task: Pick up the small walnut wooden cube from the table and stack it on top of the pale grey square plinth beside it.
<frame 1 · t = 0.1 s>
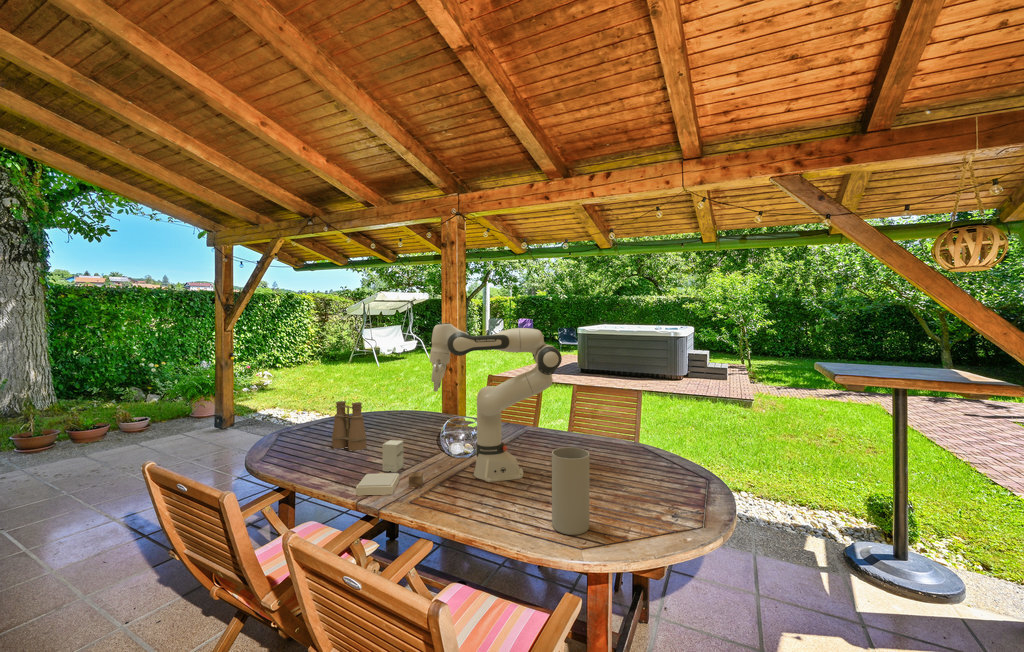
hand: (436, 389, 188), 39 cm above the table, tool pointing down, fingers open, 8 cm apart
walnut block: (415, 486, 177), on the table
plinth: (378, 488, 174), on the table
cylinder vase: (570, 527, 142), on the table
binoculars: (349, 448, 230), on the table
supplement box: (393, 469, 198), on the table
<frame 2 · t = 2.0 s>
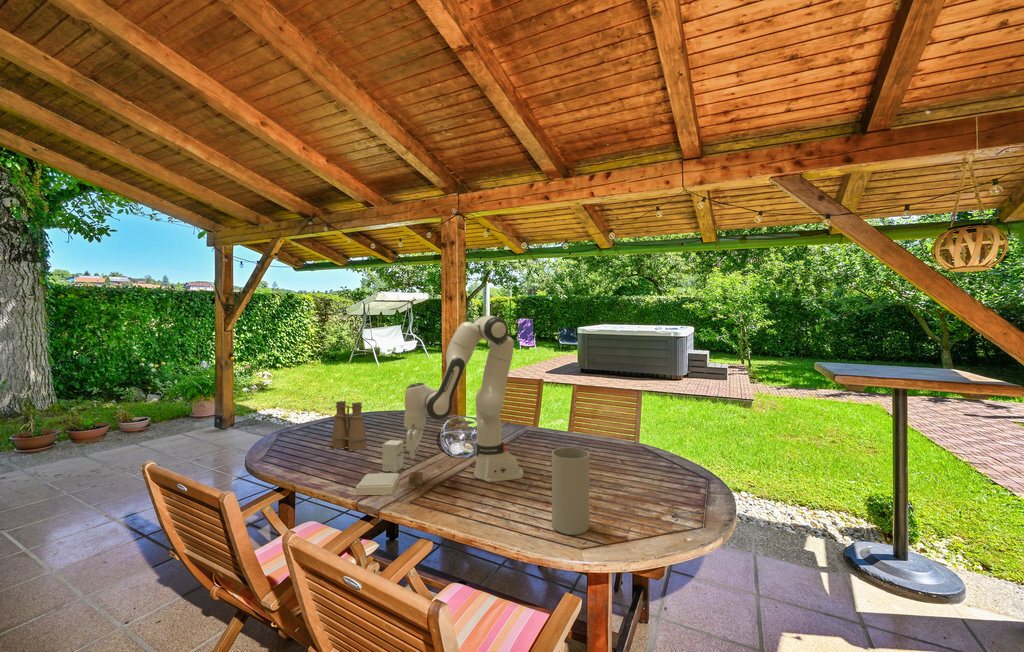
hand: (414, 454, 177), 13 cm above the table, tool pointing down, fingers open, 8 cm apart
nothing on the table moved.
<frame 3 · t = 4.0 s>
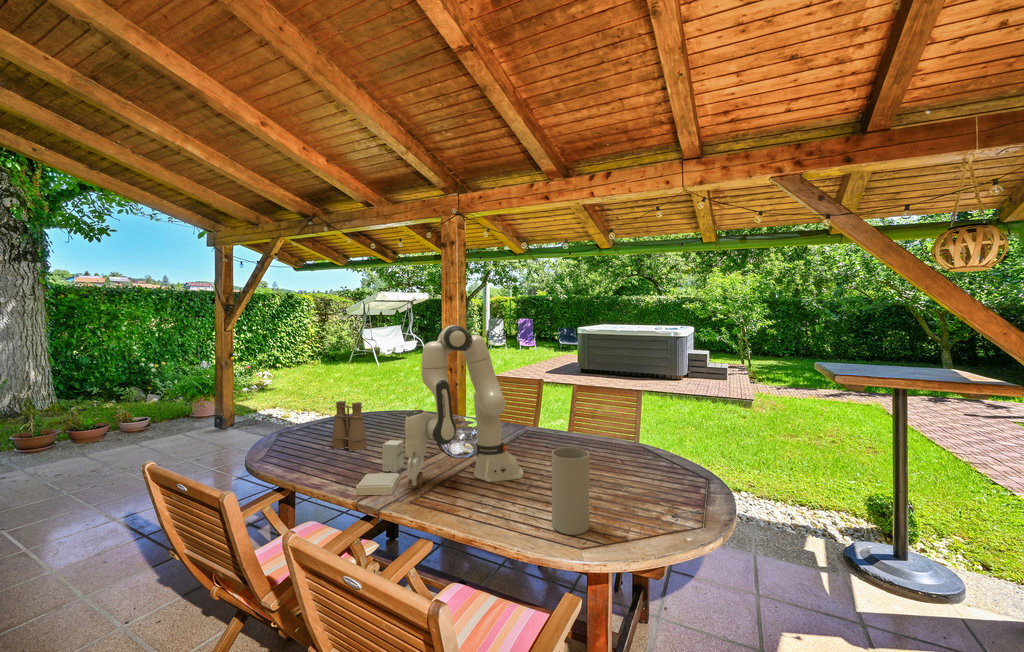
hand: (415, 481, 177), 2 cm above the table, tool pointing down, fingers closed on walnut block, 5 cm apart
walnut block: (415, 485, 177), on the table, touching gripper
everything else where it was.
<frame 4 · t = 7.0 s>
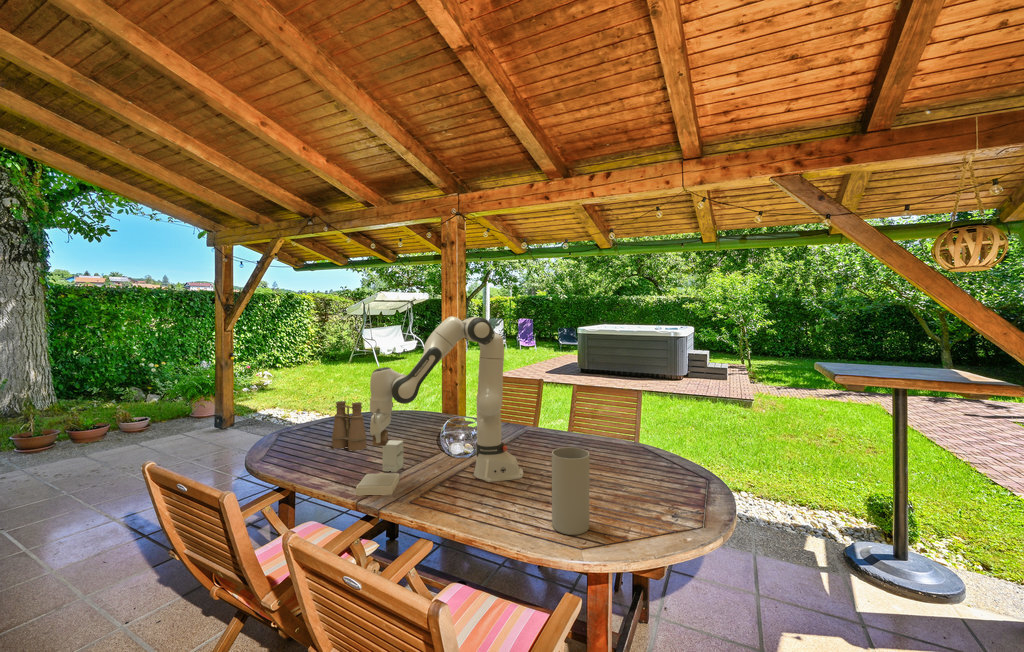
hand: (380, 440, 174), 20 cm above the table, tool pointing down, fingers closed on walnut block, 5 cm apart
walnut block: (380, 444, 174), point 19 cm above the table, touching gripper
everything else where it was.
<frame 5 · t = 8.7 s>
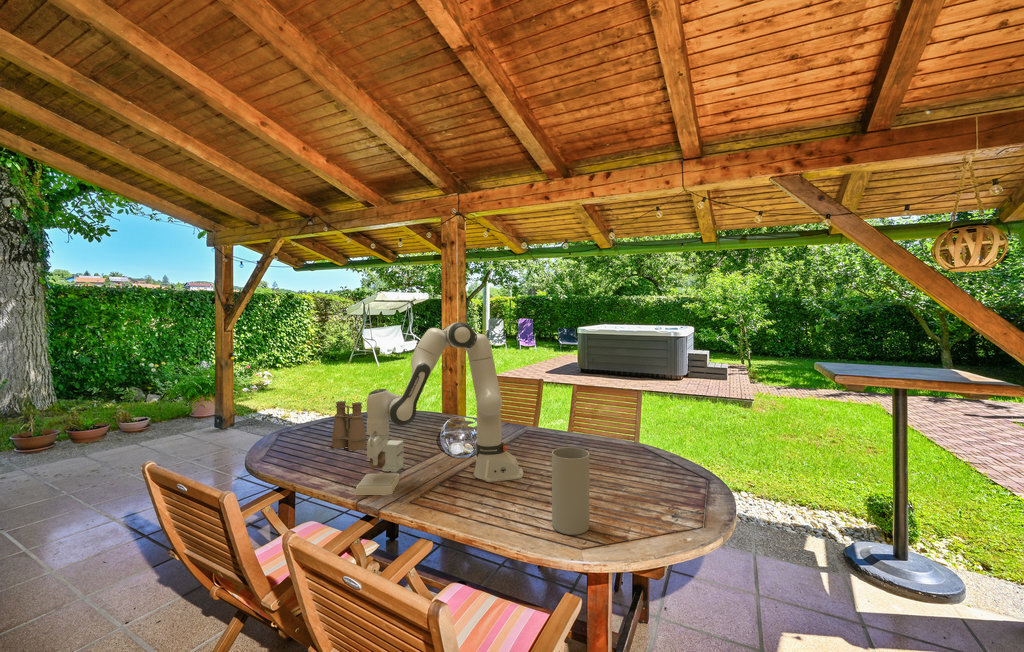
hand: (377, 462, 174), 11 cm above the table, tool pointing down, fingers closed on walnut block, 5 cm apart
walnut block: (377, 465, 174), point 10 cm above the table, touching gripper
everything else where it was.
when the fingers open (7 cm above the table, at t = 10.3 s): walnut block drops 1 cm, resting on plinth.
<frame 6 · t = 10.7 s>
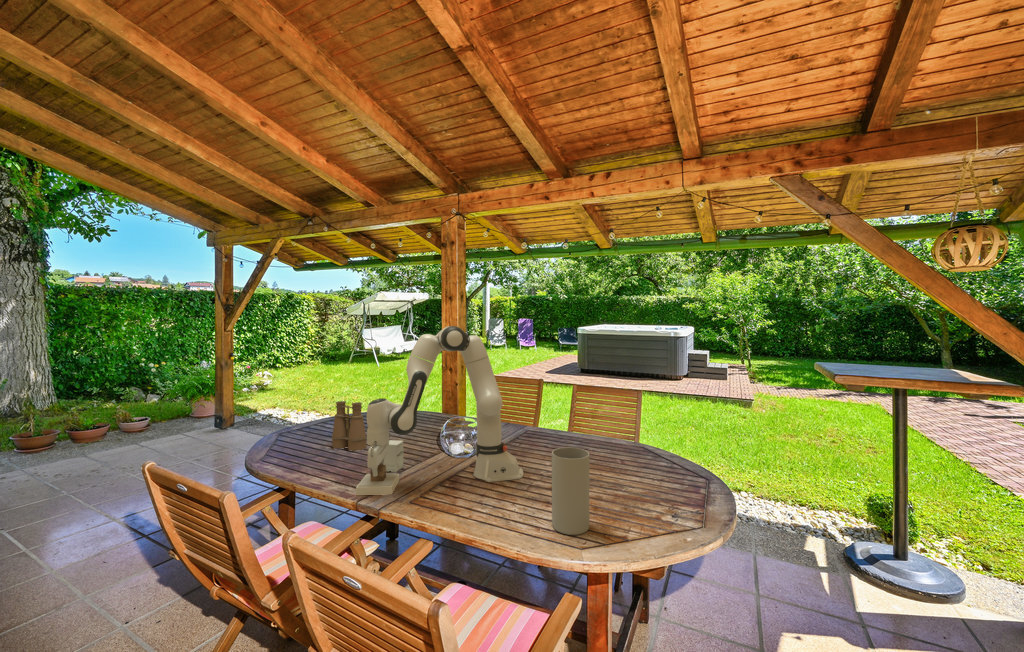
hand: (378, 471, 174), 7 cm above the table, tool pointing down, fingers open, 8 cm apart
walnut block: (378, 479, 174), point 4 cm above the table, touching plinth
everything else where it was.
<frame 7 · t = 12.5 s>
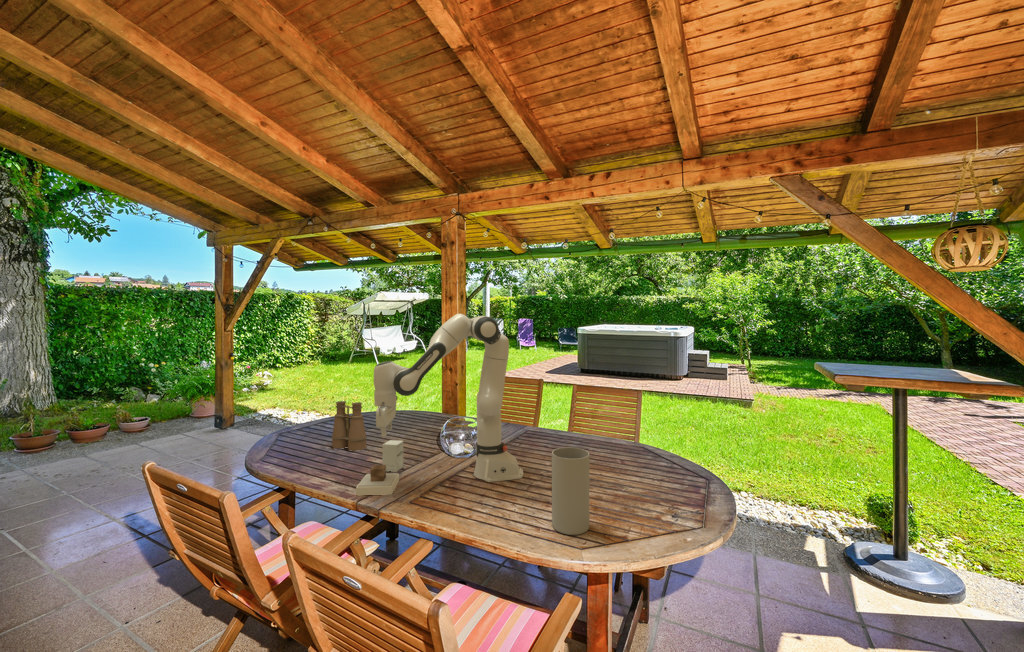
hand: (386, 433, 176), 22 cm above the table, tool pointing down, fingers open, 8 cm apart
nothing on the table moved.
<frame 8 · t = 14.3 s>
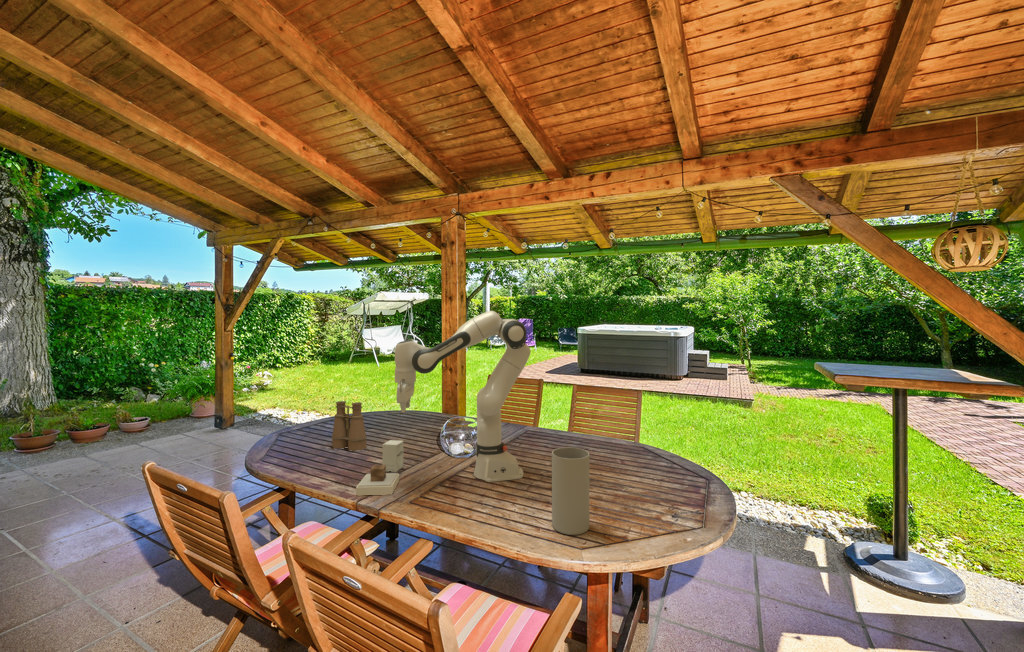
hand: (405, 409, 182), 31 cm above the table, tool pointing down, fingers open, 8 cm apart
nothing on the table moved.
at the end: walnut block inside the target area on the plinth (0.0 cm from its centre), point 4.0 cm above the plinth's base; walnut block tilted 0°; the gripper is holding nothing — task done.
